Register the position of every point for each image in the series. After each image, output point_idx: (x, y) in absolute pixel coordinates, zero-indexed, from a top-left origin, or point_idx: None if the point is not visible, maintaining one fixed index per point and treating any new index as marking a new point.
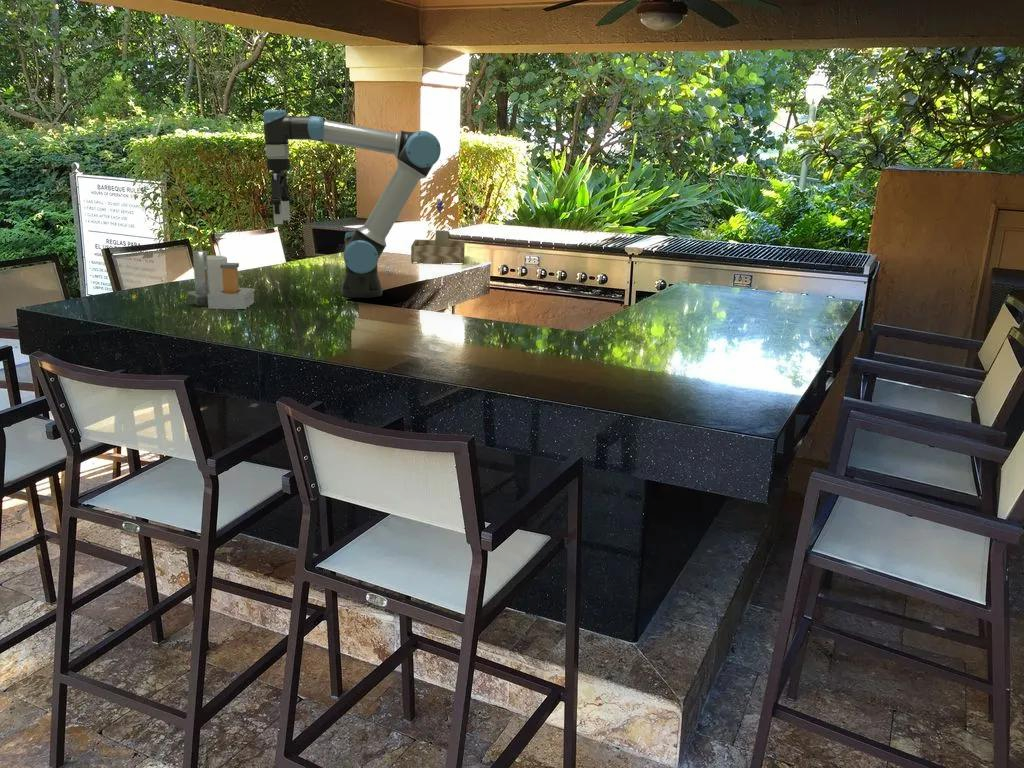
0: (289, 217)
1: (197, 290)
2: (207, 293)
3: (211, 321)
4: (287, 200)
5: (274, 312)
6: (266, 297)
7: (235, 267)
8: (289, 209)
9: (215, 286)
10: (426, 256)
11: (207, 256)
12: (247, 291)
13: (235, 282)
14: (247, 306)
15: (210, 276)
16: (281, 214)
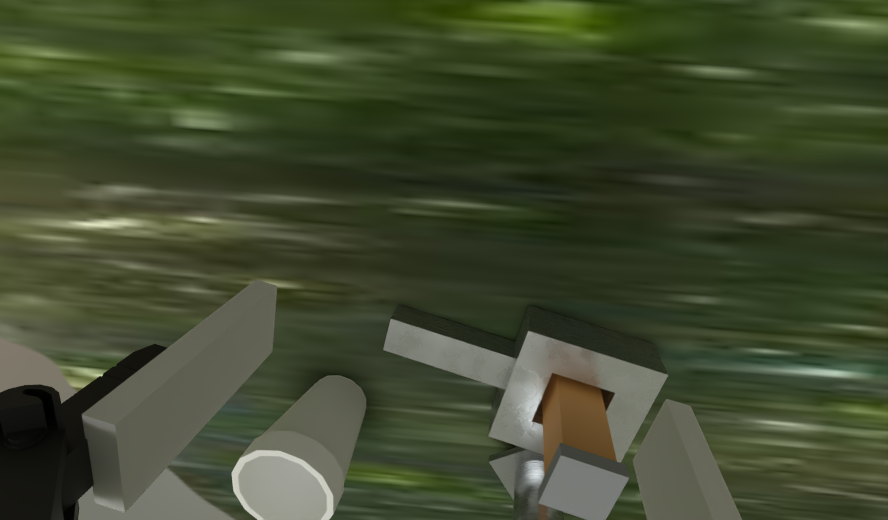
0: (262, 302)
1: None
2: None
3: (831, 451)
4: (66, 438)
5: (739, 253)
6: (421, 255)
7: (619, 465)
8: (189, 342)
9: (360, 418)
10: None
11: (249, 503)
12: (592, 357)
13: (601, 419)
14: (621, 336)
15: (351, 455)
16: (725, 496)
